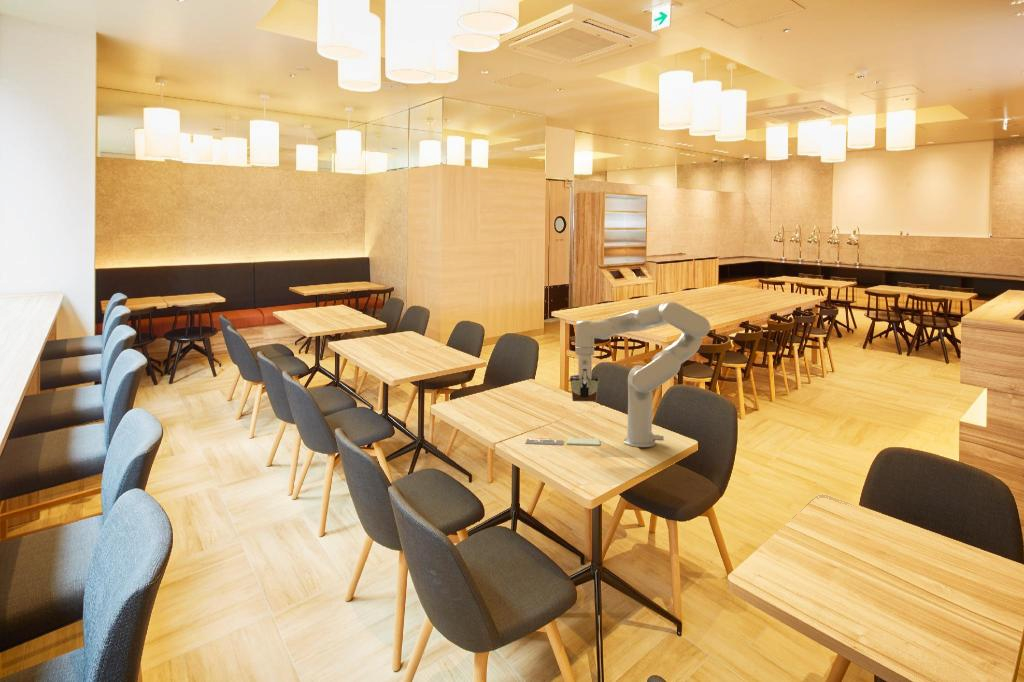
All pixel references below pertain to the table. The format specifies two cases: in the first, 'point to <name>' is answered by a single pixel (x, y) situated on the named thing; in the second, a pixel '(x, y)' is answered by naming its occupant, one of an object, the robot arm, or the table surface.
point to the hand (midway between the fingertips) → (584, 395)
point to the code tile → (545, 442)
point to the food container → (591, 384)
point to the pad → (583, 441)
